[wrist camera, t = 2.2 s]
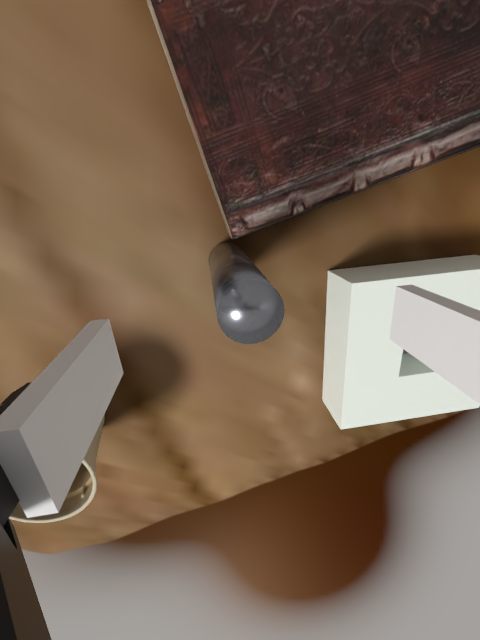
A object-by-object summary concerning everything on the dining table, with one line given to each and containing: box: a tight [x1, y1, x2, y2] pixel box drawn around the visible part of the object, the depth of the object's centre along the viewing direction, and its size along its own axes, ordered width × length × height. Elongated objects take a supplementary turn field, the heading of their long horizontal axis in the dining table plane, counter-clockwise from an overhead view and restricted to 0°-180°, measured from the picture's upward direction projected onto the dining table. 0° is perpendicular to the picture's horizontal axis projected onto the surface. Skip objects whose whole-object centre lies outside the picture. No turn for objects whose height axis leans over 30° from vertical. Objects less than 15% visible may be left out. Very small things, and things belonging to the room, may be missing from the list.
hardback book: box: [146, 0, 480, 240], centre depth 21 cm, size 29×19×5 cm, turn 109°
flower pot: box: [9, 416, 105, 523], centre depth 28 cm, size 9×9×9 cm
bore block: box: [322, 255, 480, 429], centre depth 31 cm, size 16×16×5 cm
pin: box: [209, 242, 284, 344], centre depth 21 cm, size 3×3×14 cm
